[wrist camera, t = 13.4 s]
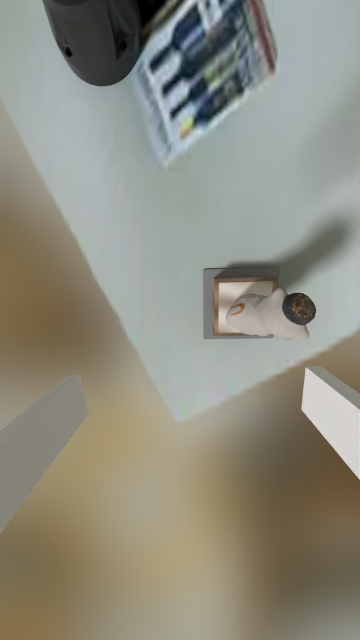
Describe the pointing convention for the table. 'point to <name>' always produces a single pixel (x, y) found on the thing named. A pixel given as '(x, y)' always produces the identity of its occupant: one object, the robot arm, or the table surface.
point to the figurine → (272, 314)
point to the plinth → (235, 299)
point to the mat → (229, 273)
